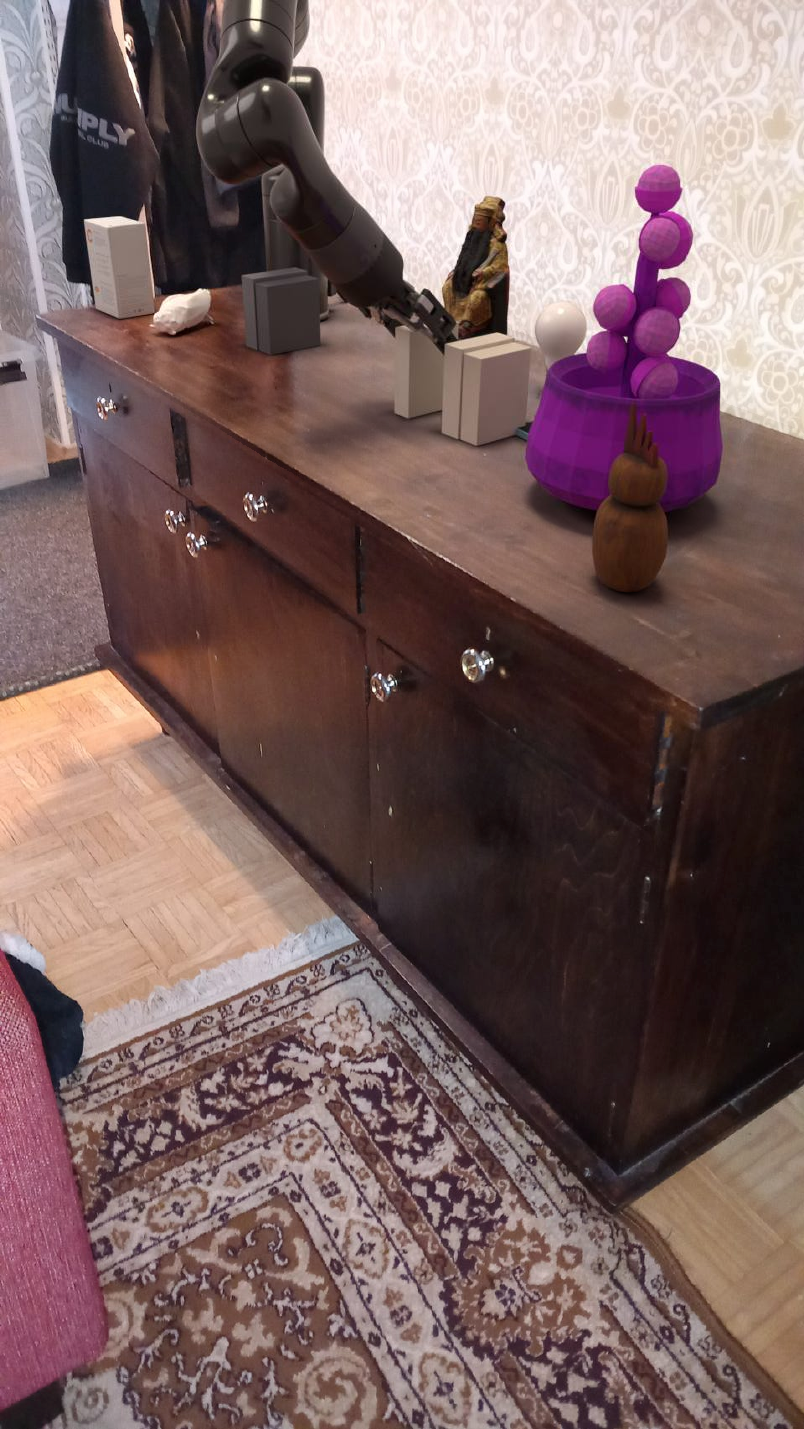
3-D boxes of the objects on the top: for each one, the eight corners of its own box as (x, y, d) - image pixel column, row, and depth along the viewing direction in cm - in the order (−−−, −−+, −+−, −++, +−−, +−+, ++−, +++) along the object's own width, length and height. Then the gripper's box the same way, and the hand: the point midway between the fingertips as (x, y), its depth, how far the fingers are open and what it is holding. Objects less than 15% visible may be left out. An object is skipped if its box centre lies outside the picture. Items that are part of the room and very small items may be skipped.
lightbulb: (586, 388, 137) (596, 299, 131) (571, 402, 132) (580, 310, 126) (539, 382, 139) (546, 293, 133) (522, 395, 134) (529, 304, 128)
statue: (428, 350, 151) (432, 194, 140) (475, 343, 154) (483, 190, 143) (474, 372, 142) (482, 208, 131) (523, 365, 145) (535, 204, 134)
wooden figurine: (580, 565, 94) (600, 396, 86) (645, 564, 95) (671, 395, 86) (599, 602, 89) (622, 424, 80) (667, 600, 89) (697, 423, 81)
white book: (394, 413, 128) (395, 326, 122) (441, 401, 132) (444, 317, 126) (408, 418, 126) (409, 331, 121) (455, 406, 130) (458, 321, 125)
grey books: (245, 346, 151) (241, 275, 146) (298, 336, 156) (295, 267, 151) (269, 355, 148) (265, 282, 142) (321, 344, 152) (320, 274, 147)
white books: (441, 432, 122) (444, 343, 117) (492, 419, 127) (497, 332, 121) (475, 446, 119) (480, 355, 113) (526, 431, 123) (533, 343, 117)
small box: (156, 313, 166) (146, 222, 159) (118, 319, 163) (106, 226, 155) (131, 303, 171) (120, 214, 164) (94, 309, 168) (82, 218, 160)
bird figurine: (184, 329, 163) (144, 326, 155) (194, 283, 161) (153, 278, 152) (211, 339, 162) (171, 338, 153) (220, 293, 159) (181, 289, 151)
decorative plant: (547, 456, 117) (576, 146, 100) (720, 479, 112) (782, 158, 95) (502, 521, 102) (527, 171, 85) (699, 552, 97) (768, 186, 80)
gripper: (415, 231, 108) (490, 330, 121) (331, 212, 117) (409, 306, 130) (374, 293, 108) (453, 386, 121) (293, 269, 117) (375, 358, 130)
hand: (430, 345), depth 125 cm, fingers open, 8 cm apart
